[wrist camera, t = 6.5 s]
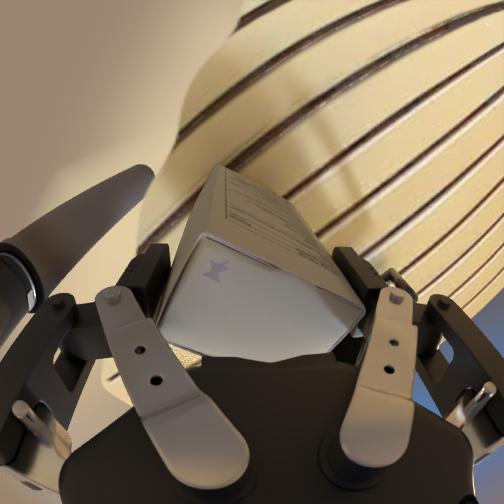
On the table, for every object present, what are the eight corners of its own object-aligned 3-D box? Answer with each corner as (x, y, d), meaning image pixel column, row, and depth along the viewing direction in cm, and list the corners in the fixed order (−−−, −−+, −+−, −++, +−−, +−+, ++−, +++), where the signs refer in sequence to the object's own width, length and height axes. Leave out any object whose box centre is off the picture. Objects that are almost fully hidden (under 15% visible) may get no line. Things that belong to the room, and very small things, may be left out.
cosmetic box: (188, 215, 19) (138, 334, 8) (217, 160, 18) (189, 222, 7) (266, 254, 21) (298, 389, 10) (298, 205, 20) (372, 313, 9)
